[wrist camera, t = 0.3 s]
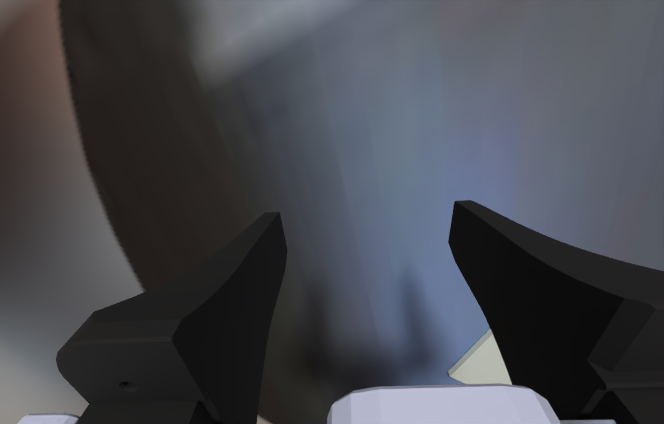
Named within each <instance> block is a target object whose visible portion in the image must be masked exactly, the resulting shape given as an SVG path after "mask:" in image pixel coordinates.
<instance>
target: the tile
mask: <svg viewBox="0 0 664 424" xmlns="http://www.w3.org/2000/svg"><path fill="white" fill-rule="evenodd" d="M448 373H449V376H450V377H452V378H454V379H456V380H458V381H461V382H463V383H465V384H494V383H501V384H509V385H512V383H511V380H510V377H509V375H508V372H507V369H506V366H505V364H504V361H503V359H502V356H501V353H500V351H499V348H498V346H497V343H496V341H495V338H494V336H493V334H492V331H491V329H489V330H488V331H487V332H486V333H485V334H484V335H483V336H482V337H481V338H480V339H479V340H478V341H477V342H476V343H475V344H474V345H473V346H472V347H471V348H470V349H469V350H468V351H467V352H466V353H465V354H464V355H463V356H462V358H461V359H460V360H459V361H458V362H457V363H456V364H455V365H454V366H453V367H452V368H451V369H450V370H449V371H448Z"/></svg>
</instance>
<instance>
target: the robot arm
mask: <svg viewBox="0 0 664 424" xmlns="http://www.w3.org/2000/svg"><path fill="white" fill-rule="evenodd" d="M448 243H449V245H450V248H451V251H452V254H453V257H454V259H455V262H456V264H457V266H458V268H459V269H460V271H461V273H462V275H463V277H464V279H465V280H466V282H467V284H468V286H469V287H470V289H471V291H472V293H473V295H474V296H475V298H476V300H477V302H478V304H479V305H480V307H481V309H482V311H483V313H484V315H485V317H486V319H487V322H488V324H489V326H490V329H491V331H492V334H493V336H494V338H495V341H496V343H497V346H498V348H499V351H500V353H501V356H502V359H503V361H504V364H505V366H506V369H507V372H508V375H509V377H510V380H511V383H512V385H509V384H501V383H494V384H456V385H418V386H379V387H372V388H366V389H360V390H355V391H352V392H350V393H349V394H347V395H345V396H344V397H342V398H340V399H338V400H337V401H336V402H335V403H334V404H333V405H332V407H331V409H330V412H329V415H328V418H327V424H664V271H660V270H655V269H651V268H647V267H643V266H639V265H634V264H631V263H627V262H623V261H619V260H616V259H612V258H609V257H605V256H602V255H599V254H595V253H592V252H589V251H586V250H583V249H580V248H577V247H574V246H571V245H568V244H566V243H563V242H560V241H558V240H555V239H552V238H550V237H547V236H545V235H543V234H540V233H538V232H536V231H534V230H531V229H529V228H527V227H525V226H523V225H520V224H518V223H516V222H514V221H512V220H510V219H508V218H506V217H504V216H502V215H500V214H498V213H496V212H494V211H492V210H490V209H488V208H486V207H484V206H482V205H480V204H478V203H476V202H473V201H471V200H466V201H455V202H454V209H453V215H452V222H451V228H450V235H449V241H448ZM286 258H287V246H286V241H285V236H284V231H283V226H282V221H281V216H280V212H271V213H264V214H263V215H262V216H261V217H259V218H258V219H257V220H256V221H255V222H254V223H253V224H251V225H250V226H249V227H248V228H247V229H246V230H244V231H243V232H242V233H241V234H240V235H239V236H237V237H236V238H235V239H234V240H232V241H231V242H230V243H229V244H227V245H226V246H225V247H223V248H222V249H221V250H220V251H218V252H217V253H215V254H214V255H212V256H211V257H210V258H208V259H206V260H205V261H203V262H202V263H200V264H199V265H197V266H195V267H194V268H192V269H190V270H188V271H186V272H185V273H183V274H181V275H179V276H177V277H175V278H174V279H172V280H170V281H168V282H166V283H164V284H162V285H159V286H157V287H155V288H153V289H151V290H149V291H146V292H144V293H142V294H140V295H137V296H135V297H132V298H130V299H127V300H124V301H122V302H119V303H116V304H114V305H111V306H109V307H106V308H103V309H100V310H97V311H95V312H93V314H92V315H91V316H90V317H89V318H88V319H87V320H86V321H85V322H84V323H83V325H82V326H81V327H80V328H79V329H78V330H77V331H76V332H75V333H74V335H73V336H72V337H71V338H70V339H69V340H68V341H67V342H66V343H65V345H64V346H63V347H62V348H61V349H60V350H59V351H58V353H57V357H56V362H57V366H58V369H59V371H60V373H61V374H62V375H63V377H64V378H65V379H66V380H67V381H68V382H69V383H70V384H71V385H72V386H73V387H74V388H75V389H76V390H77V391H78V393H80V395H81V396H82V397H83V398H84V399H85V400H86V401H87V402H88V403H89V405H88V407H87V408H86V410H85V411H84V413H83V414H82V416H81V417H79V416H76V415H73V414H68V413H50V414H49V413H48V414H47V413H46V414H28V415H25V416H24V417H23V418H22V419H21V421H20V422H19V423H18V424H256V423H257V414H258V405H259V397H260V389H261V381H262V373H263V366H264V360H265V353H266V346H267V340H268V334H269V328H270V324H271V319H272V315H273V312H274V308H275V305H276V301H277V297H278V294H279V290H280V287H281V283H282V279H283V276H284V272H285V266H286Z"/></svg>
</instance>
